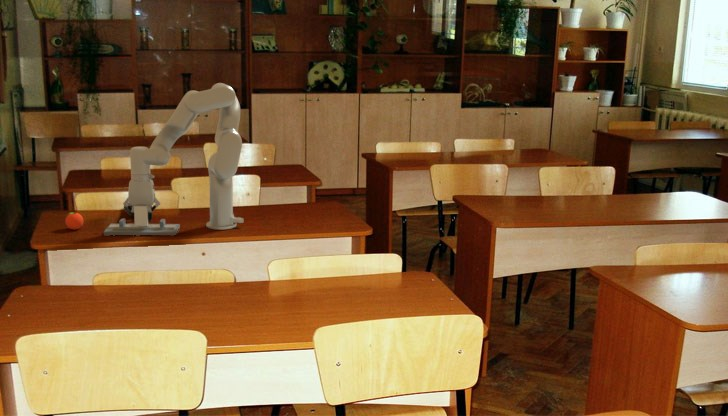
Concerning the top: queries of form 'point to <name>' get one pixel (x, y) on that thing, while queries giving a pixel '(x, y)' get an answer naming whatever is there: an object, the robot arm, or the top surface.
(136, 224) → the block
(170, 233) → the board
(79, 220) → the clementine
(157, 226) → the rail
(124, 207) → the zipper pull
